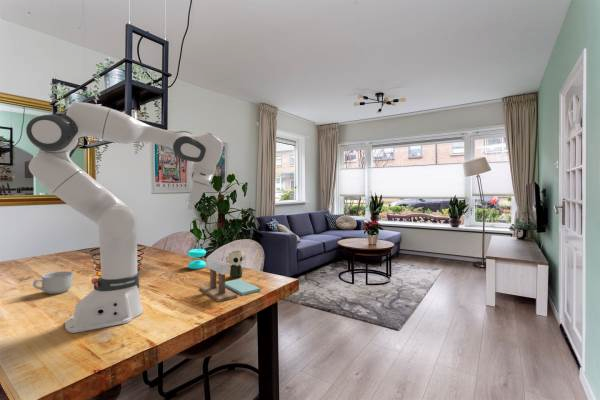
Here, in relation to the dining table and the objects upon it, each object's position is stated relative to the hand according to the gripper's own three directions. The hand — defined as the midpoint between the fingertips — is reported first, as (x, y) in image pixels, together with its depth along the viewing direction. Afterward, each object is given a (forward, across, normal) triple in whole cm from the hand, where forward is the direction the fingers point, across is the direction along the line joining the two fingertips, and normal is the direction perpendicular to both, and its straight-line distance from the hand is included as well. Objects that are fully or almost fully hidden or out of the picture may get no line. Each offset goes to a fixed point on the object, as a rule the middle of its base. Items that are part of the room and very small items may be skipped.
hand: (190, 205), depth 120 cm
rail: (+23, +4, +19) cm, 30 cm away
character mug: (+34, -15, +34) cm, 50 cm away
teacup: (+60, -15, -40) cm, 74 cm away
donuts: (+47, -41, +17) cm, 65 cm away
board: (+30, +3, +32) cm, 44 cm away
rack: (+32, +7, +22) cm, 40 cm away
